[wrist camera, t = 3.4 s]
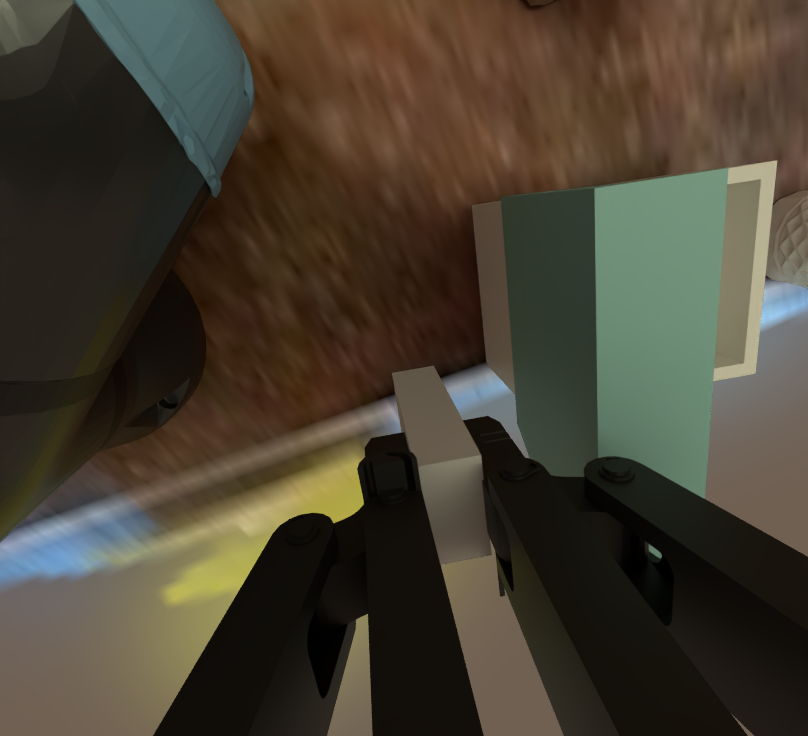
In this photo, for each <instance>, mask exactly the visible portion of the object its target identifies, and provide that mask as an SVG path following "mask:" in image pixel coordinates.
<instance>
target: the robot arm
mask: <svg viewBox="0 0 808 736" xmlns="http://www.w3.org/2000/svg"><path fill="white" fill-rule="evenodd" d="M254 97H255V88H254V80H253V76H252V72H251V67H250V64H249V62H248V59H247V57H246V55H245V53H244V51H243V48H242V47H241V44H240V42H239V40H238V38H237V36H236V34H235V32H234V30H233V29H232V27H231V26H230V24H229V22H228V21H227V19H226V18H225V16H224V15H223V13H222V11H221V10H220V8H219V7H218V5H217V4H216V2H215V1H214V0H0V542H1V541H2V540H3V539H4V538H6V537H7V536H8V535H9V534H10V533H11V532H12V531H13V530H14V529H15V528H16V527H17V526H18V525H20V524H21V523H22V522H23V521H24V520H25V519H26V518H27V517H28V516H29V515H30V514H31V513H32V512H34V511H35V510H36V509H37V508H38V507H39V506H40V505H41V504H42V503H43V502H44V501H45V500H46V499H48V498H49V497H50V496H51V495H52V494H53V493H54V492H55V491H56V490H57V489H58V488H59V487H60V486H61V485H63V484H64V483H65V482H66V481H67V480H68V479H69V478H70V477H71V476H72V475H73V474H74V473H75V472H77V471H78V470H79V469H80V468H81V467H82V466H83V465H84V464H85V463H86V462H87V461H88V460H89V459H91V458H92V457H93V456H94V454H96V453H97V452H100V451H103V450H106V449H110V448H113V447H116V446H119V445H123V444H126V443H129V442H132V441H135V440H138V439H140V438H142V437H144V436H147V435H148V434H150V433H152V432H154V431H155V430H157V429H158V428H160V427H161V426H163V425H164V424H165V423H167V422H168V421H169V420H170V419H171V418H172V417H173V416H174V415H175V414H176V413H177V412H178V411H179V410H180V409H181V408H182V406H183V405H184V404H185V403H186V402H187V401H188V399H189V398H190V397H191V395H192V394H193V392H194V391H195V389H196V387H197V385H198V383H199V380H200V378H201V375H202V372H203V368H204V363H205V354H206V342H205V333H204V328H203V324H202V320H201V317H200V314H199V311H198V309H197V307H196V305H195V303H194V301H193V299H192V297H191V295H190V293H189V292H188V290H187V289H186V287H185V286H184V284H183V283H182V282H181V281H180V279H179V278H178V277H177V276H176V275H175V274H174V273H173V271H172V270H171V267H172V265H173V264H174V262H175V260H176V258H177V257H178V255H179V253H180V251H181V250H182V248H183V246H184V244H185V243H186V241H187V239H188V237H189V236H190V234H191V232H192V230H193V229H194V227H195V225H196V223H197V222H198V220H199V218H200V216H201V215H202V213H203V211H204V209H205V208H206V206H207V204H208V202H209V201H210V199H211V197H213V198H217V196H218V194H219V193H220V191H221V185H222V183H221V180H220V177H221V175H222V173H223V171H224V169H225V167H226V165H227V163H228V161H229V159H230V157H231V155H232V153H233V151H234V149H235V147H236V145H237V143H238V141H239V139H240V137H241V135H242V133H243V131H244V129H245V127H246V125H247V123H248V121H249V119H250V116H251V114H252V110H253V106H254ZM392 376H393V382H394V389H395V395H396V401H397V407H398V413H399V419H400V425H401V431H402V433H397V434H391V435H386V436H380V437H375V438H371V439H370V441H369V442H368V444H367V445H366V447H365V458H364V459H363V460H362V461H361V462H360V463H359V465H358V468H357V470H358V475H359V479H360V484H361V489H362V494H363V499H364V505H363V506H362V507H361V508H360V509H359V510H358V511H357V512H356V513H354V514H353V515H352V516H350V517H348V518H346V519H344V520H341V521H339V522H336V523H333V522H332V520H331V518H330V517H328V516H326V515H324V514H319V513H309V514H302V515H299V516H296V517H293V518H291V519H289V520H288V521H286V522H285V523H283V524H282V525H280V526H279V527H278V528H277V529H276V531H275V532H274V533H273V534H272V536H271V538H270V539H269V541H268V543H267V544H266V546H265V548H264V550H263V551H262V553H261V555H260V556H259V558H258V560H257V561H256V563H255V565H254V566H253V568H252V570H251V571H250V573H249V575H248V577H247V578H246V580H245V582H244V583H243V585H242V587H241V588H240V590H239V592H238V593H237V595H236V597H235V598H234V600H233V602H232V604H231V605H230V607H229V609H228V610H227V612H226V614H225V615H224V617H223V619H222V620H221V622H220V624H219V625H218V627H217V629H216V630H215V632H214V634H213V636H212V637H211V639H210V641H209V642H208V644H207V646H206V647H205V649H204V651H203V652H202V654H201V656H200V658H199V659H198V661H197V663H196V664H195V666H194V668H193V669H192V671H191V673H190V674H189V676H188V678H187V679H186V681H185V683H184V684H183V686H182V688H181V690H180V691H179V693H178V695H177V696H176V698H175V700H174V702H173V703H172V705H171V706H170V708H169V710H168V711H167V713H166V715H165V717H164V718H163V720H162V722H161V723H160V725H159V727H158V728H157V730H156V732H155V734H154V735H153V736H327V733H328V729H329V726H330V722H331V718H332V715H333V711H334V707H335V703H336V699H337V696H338V692H339V688H340V685H341V681H342V677H343V673H344V670H345V666H346V662H347V659H348V655H349V651H350V648H351V644H352V640H353V637H354V633H355V629H356V619H358V618H360V617H362V616H364V615H366V614H368V625H369V650H370V678H371V702H372V703H371V704H372V730H373V736H484V735H483V732H482V728H481V724H480V720H479V716H478V712H477V708H476V704H475V700H474V696H473V692H472V688H471V684H470V680H469V676H468V672H467V668H466V664H465V660H464V656H463V652H462V648H461V644H460V640H459V636H458V632H457V628H456V624H455V620H454V616H453V613H452V609H451V604H450V601H449V597H448V593H447V589H446V585H445V581H444V577H443V573H442V569H441V565H442V564H447V563H453V562H458V561H463V560H468V559H473V558H478V557H483V556H489V555H492V554H491V545H490V539H491V542H492V544H493V546H494V549H495V552H496V561H497V571H498V580H499V590H500V596H505V591H504V588H505V590H506V592H507V595H508V597H509V600H510V602H511V605H512V607H513V610H514V612H515V615H516V617H517V620H518V622H519V625H520V627H521V630H522V632H523V635H524V637H525V640H526V642H527V645H528V647H529V650H530V652H531V655H532V657H533V660H534V662H535V665H536V667H537V670H538V672H539V675H540V677H541V680H542V682H543V685H544V687H545V690H546V692H547V695H548V697H549V700H550V702H551V705H552V707H553V710H554V712H555V714H556V717H557V720H558V722H559V725H560V727H561V730H562V732H563V734H564V736H747V734H746V733H745V732H744V730H743V729H742V728H741V726H740V725H739V724H738V722H737V721H736V720H735V718H737V719H738V720H739V721H740V722H741V723H742V724H743V725H744V726H745V727H746V728H747V729H748V730H749V731H750V732H751V733H752V734H753V735H754V736H808V557H807V556H805V555H804V554H802V553H800V552H798V551H797V550H795V549H793V548H791V547H789V546H788V545H786V544H784V543H782V542H781V541H779V540H777V539H775V538H773V537H772V536H770V535H768V534H766V533H764V532H763V531H761V530H759V529H757V528H755V527H753V526H752V525H750V524H748V523H746V522H745V521H743V520H741V519H739V518H738V517H736V516H734V515H732V514H731V513H729V512H727V511H725V510H723V509H722V508H720V507H718V506H716V505H714V504H713V503H711V502H709V501H707V500H706V499H704V498H702V497H700V496H698V495H697V494H695V493H693V492H691V491H689V490H688V489H686V488H684V487H682V486H681V485H679V484H677V483H675V482H673V481H672V480H670V479H668V478H666V477H664V476H663V475H661V474H659V473H657V472H656V471H654V470H652V469H650V468H648V467H647V466H645V465H643V464H641V463H639V462H637V461H634V460H632V459H628V458H623V457H619V456H612V457H611V456H606V457H601V458H596V459H594V460H592V461H590V462H588V463H587V464H586V466H585V467H584V477H563V476H553V475H550V473H549V472H548V471H547V469H546V468H545V467H544V466H543V465H542V464H540V463H539V462H537V461H535V460H532V459H529V458H525V457H524V456H523V454H522V453H521V451H520V450H519V449H518V447H517V446H516V444H515V443H514V442H513V440H512V439H511V438H510V436H509V434H508V433H507V432H506V430H505V429H504V427H503V426H502V425H501V423H500V422H498V421H497V420H495V419H493V418H491V417H489V416H485V417H480V418H474V419H468V420H462V418H461V416H460V414H459V413H458V411H457V409H456V407H455V405H454V403H453V401H452V399H451V398H450V396H449V394H448V392H447V390H446V388H445V386H444V384H443V382H442V381H441V379H440V377H439V375H438V373H437V371H436V369H435V367H434V366H430V367H424V368H418V369H412V370H406V371H400V372H395V373H392ZM649 544H650V545H651V546H652V547H654V548H655V549H656V550H658V551H659V552H660V553H661V554H662V557H661V559H660V558H659V557H657V556H655V555H654V554H653V553H651V552H650V551H649ZM732 715H733V716H735V718H734V717H733V716H732Z"/></svg>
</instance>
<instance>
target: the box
mask: <svg viewBox="0 0 808 736" xmlns="http://www.w3.org/2000/svg"><path fill="white" fill-rule="evenodd" d="M776 167H777V161H770V162H762V163H755V164H747V165H740V166H732V167H725V168H729V169H728V182H727V196H726V210H725V224H724V238H723V252H722V266H721V280H720V294H719V308H718V322H717V336H716V349H715V363H714V377H713V381H716V380H721V379H727V378H732V377H738V376H744V375H749V374H755V372H756V362H757V352H758V342H759V333H760V323H761V313H762V304H763V294H764V284H765V274H766V265H767V255H768V245H769V235H770V225H771V216H772V206H773V196H774V186H775V177H776ZM717 169H723V168H717ZM709 170H715V169H709ZM702 171H707V170H702ZM694 172H700V171H694ZM694 172H687V173H694ZM687 173H679V174H672V175H664V176H657V177H650V178H644V179H637V180H631V181H625V182H618V183H627V182H635V181H641V180H648V179H654V178H661V177H667V176H674V175H680V174H687ZM618 183H612V184H618ZM605 185H609V184H605ZM599 186H600V185H599ZM472 215H473V225H474V236H475V247H476V257H477V268H478V279H479V289H480V300H481V311H482V321H483V332H484V343H485V353H486V363H487V365H488V366H489V367H490V368H491V369H492V370H493V371H494V372H495V373H496V374H497V376H498V377H499V378H500V379H501V380H502V381H503V382H504V383H505V384H506V386H507V387H508V388H509V389H510V390H511V391H512V392H513V393H514V394H515V385H514V371H513V358H512V344H511V331H510V318H509V304H508V291H507V277H506V264H505V251H504V237H503V224H502V210H501V201H496V202H489V203H483V204H476V205H472Z"/></svg>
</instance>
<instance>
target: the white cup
mask: <svg viewBox="0 0 808 736" xmlns="http://www.w3.org/2000/svg"><path fill="white" fill-rule="evenodd" d="M765 275H766V276H767V277H769V278H770V279H772V280H776V281H781V282H786V283H791V284H796V285H800V286H802V287H805V288H808V190H806V191H798V192H796V193H793V194H791V195H788V196H786V197H784V198H781V199H779V200H778V201H777V202H776V203H775V204H774V205H773V206H772V216H771V225H770V235H769V245H768V255H767V265H766V274H765Z"/></svg>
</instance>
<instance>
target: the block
mask: <svg viewBox="0 0 808 736" xmlns="http://www.w3.org/2000/svg"><path fill="white" fill-rule="evenodd" d="M527 1H528V3H529V4H530V6H533V5H546V4H548V3H550V2H552V1H554V0H527Z"/></svg>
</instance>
